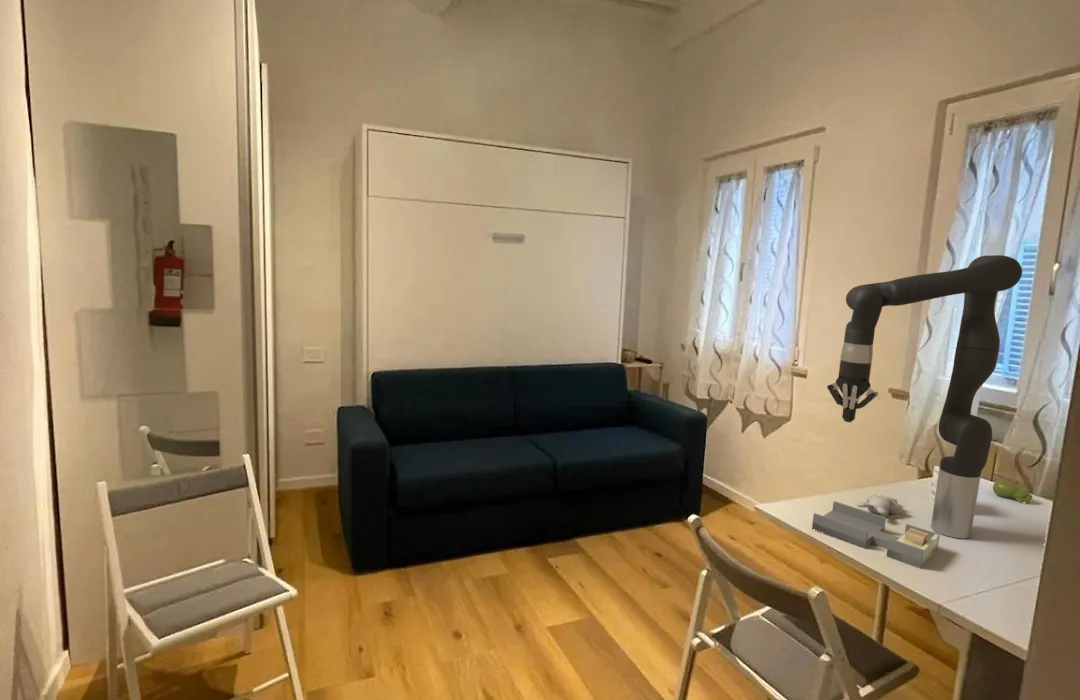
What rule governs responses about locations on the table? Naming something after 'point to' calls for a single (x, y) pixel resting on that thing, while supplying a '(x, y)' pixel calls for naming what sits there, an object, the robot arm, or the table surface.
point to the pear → (1011, 491)
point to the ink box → (934, 484)
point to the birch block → (916, 538)
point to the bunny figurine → (881, 505)
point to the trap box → (873, 533)
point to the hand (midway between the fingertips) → (847, 421)
